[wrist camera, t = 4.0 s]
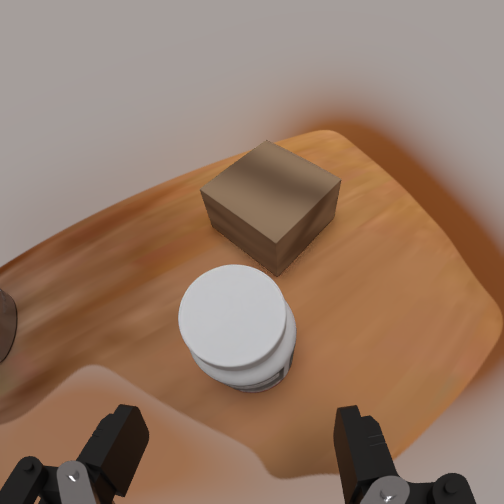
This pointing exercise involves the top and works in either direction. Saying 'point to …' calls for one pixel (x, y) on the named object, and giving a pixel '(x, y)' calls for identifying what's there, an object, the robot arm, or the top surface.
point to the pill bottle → (238, 327)
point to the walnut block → (271, 204)
